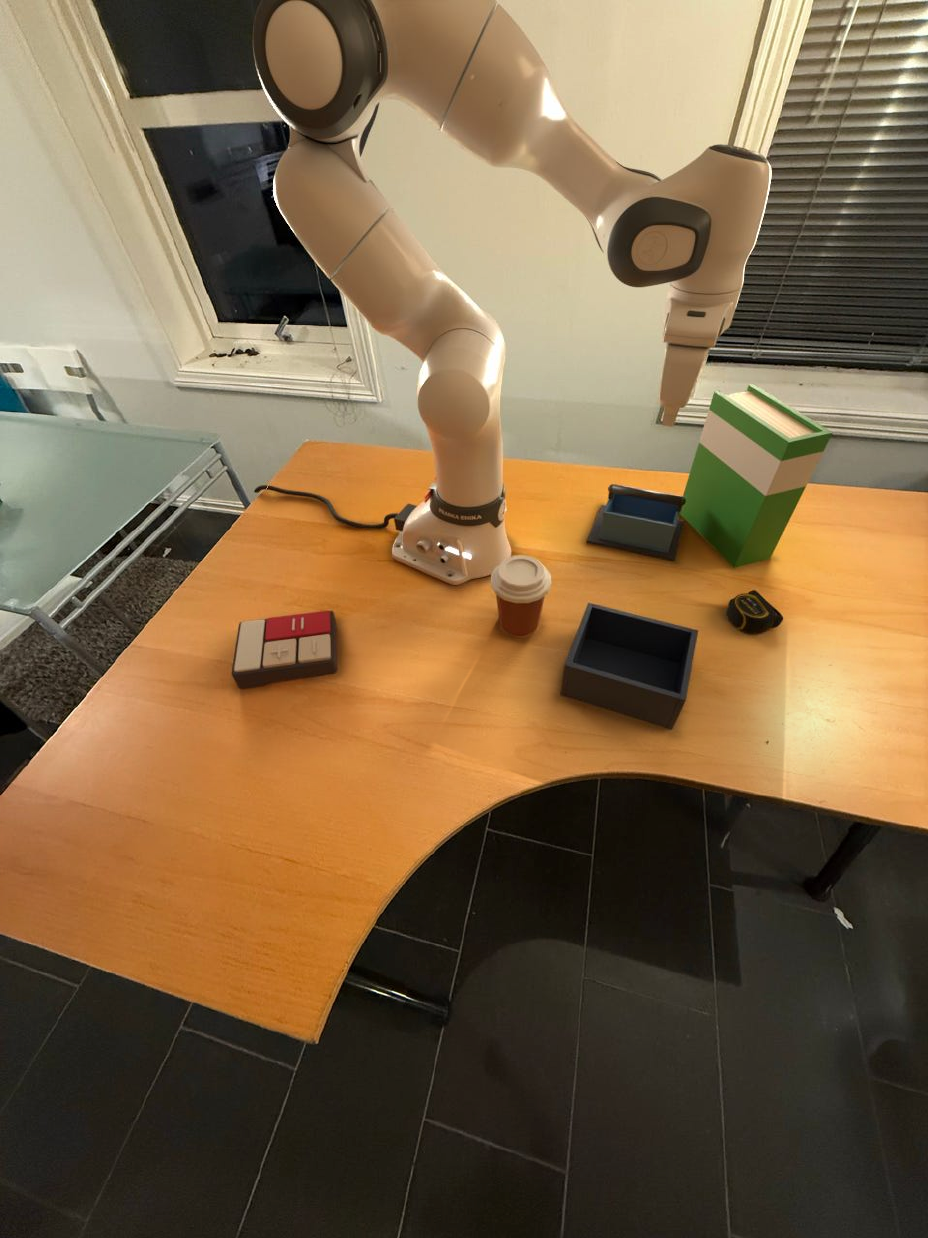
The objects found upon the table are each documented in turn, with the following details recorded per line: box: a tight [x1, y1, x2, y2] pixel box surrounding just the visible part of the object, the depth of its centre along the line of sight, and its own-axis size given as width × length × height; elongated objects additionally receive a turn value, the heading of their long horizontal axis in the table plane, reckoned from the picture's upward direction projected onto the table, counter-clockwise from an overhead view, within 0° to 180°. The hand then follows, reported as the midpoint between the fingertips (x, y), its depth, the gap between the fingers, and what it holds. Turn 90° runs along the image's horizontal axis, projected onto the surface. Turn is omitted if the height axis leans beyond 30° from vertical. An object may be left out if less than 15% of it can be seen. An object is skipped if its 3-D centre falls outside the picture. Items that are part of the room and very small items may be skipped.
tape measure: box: [725, 589, 784, 635], centre depth 82 cm, size 7×7×4 cm
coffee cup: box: [490, 554, 552, 638], centre depth 81 cm, size 9×9×12 cm
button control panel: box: [231, 610, 338, 690], centre depth 83 cm, size 11×4×15 cm
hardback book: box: [679, 383, 834, 569], centre depth 90 cm, size 18×7×24 cm, turn 17°
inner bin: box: [599, 483, 686, 553], centre depth 96 cm, size 14×10×9 cm
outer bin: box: [559, 602, 699, 731], centre depth 75 cm, size 16×13×8 cm
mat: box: [586, 504, 685, 563], centre depth 100 cm, size 16×12×1 cm
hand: (672, 409), depth 80 cm, fingers open, 8 cm apart
